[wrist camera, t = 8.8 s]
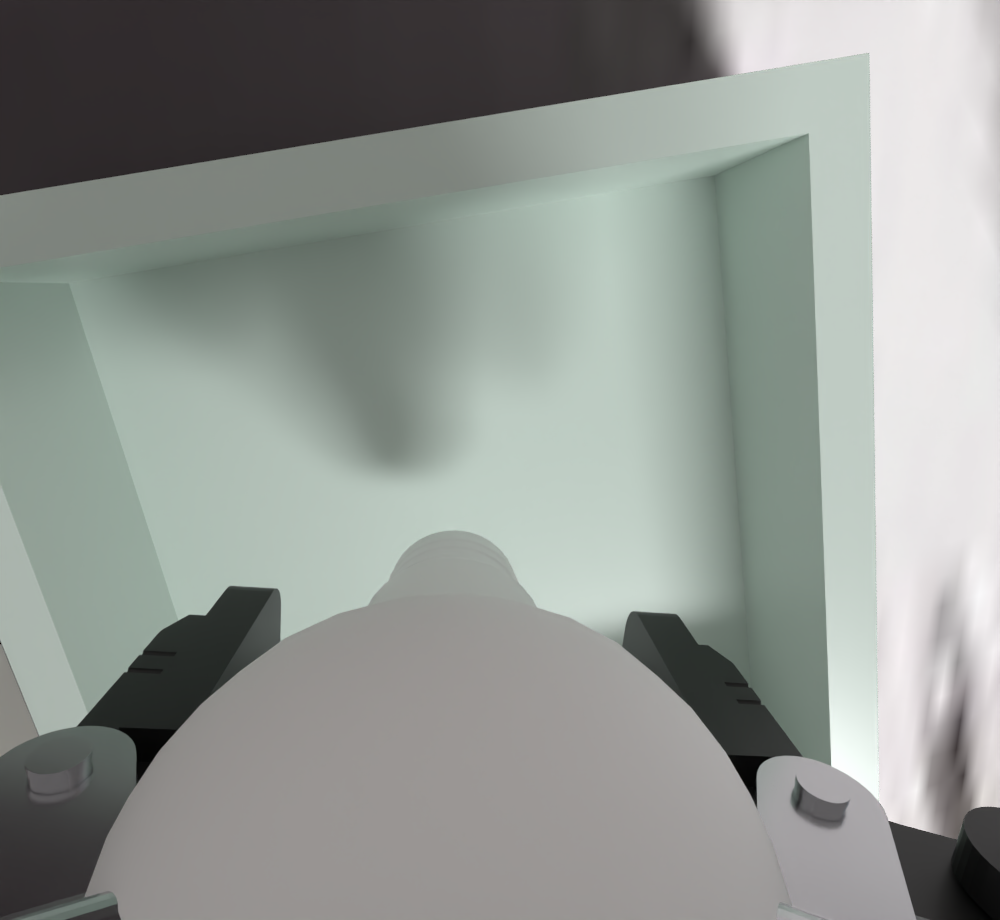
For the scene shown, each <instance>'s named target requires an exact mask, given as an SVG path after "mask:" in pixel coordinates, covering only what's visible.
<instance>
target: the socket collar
mask: <svg viewBox="0 0 1000 920" xmlns="http://www.w3.org/2000/svg"><path fill="white" fill-rule="evenodd" d="M36 737H38V733H37V731H36V728H35V726H34V724H33V721H32V719H31V716H30V714H29V711H28V709H27V706H26V704H25V702H24V699H23V697H22V694H21V692H20V689H19V687H18V684H17V682H16V679H15V677H14V675H13V672H12V670H11V667H10V665H9V662H8V660H7V657H6V655H5V653H4V650H3V648H2V645H1V644H0V757H1V756H2V755H4V754H5V753H7V752H8V751H10V750H11V749H13V748H15V747H16V746H18V745H20V744H22V743H24V742H26V741H28V740H31V739H33V738H36Z"/></svg>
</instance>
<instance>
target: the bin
mask: <svg viewBox="0 0 1000 920" xmlns="http://www.w3.org/2000/svg"><path fill="white" fill-rule="evenodd" d="M453 530H457V531H465V532H470V533H473V534H477V535H480V536H482V537H483V538H485V539H487V540H489V541H491V542H492V543H493V544H494V545H496V546H497V547H498V548H499V549H500V550H501V551H502V552H503V553H504V555H505V556H506V557H507V559H508V561H509V563H510V564H511V566H512V568H513V571H514V574H515V576H516V578H517V580H518V582H519V584H520V585H521V586H522V587H523V588H524V589H525V590H526V592H527V593H528V594H529V595H530V597H531V598H532V599H533V601H534V603H535V605H536V607H537V608H540V609H543V610H546V611H550V612H553V613H556V614H560V615H563V616H566V617H569V618H571V619H573V620H575V621H577V622H579V623H581V624H583V625H585V626H586V627H588V628H590V629H592V630H594V631H596V632H598V633H600V634H602V635H604V636H605V637H607V638H609V639H611V640H613V641H615V642H617V643H618V644H619V645H621V646H622V644H623V638H624V632H625V626H626V622H627V618H628V616H629V614H630V613H631V612H632V611H638V612H654V613H670V614H677V615H678V616H679V617H680V619H681V620H682V621H683V623H684V624H685V626H686V627H687V629H688V630H689V632H690V633H691V635H692V636H693V638H694V639H695V640H696V642H697V643H698V645H709V646H710V647H711V648H713V649H714V650H716V651H717V652H718V653H720V654H721V655H723V656H724V657H725V658H727V659H728V660H729V661H731V662H732V663H733V664H734V665H735V666H736V668H737V669H738V670H739V672H740V673H741V674H742V676H743V677H744V678H745V680H746V681H747V682H748V687H749V688H752V689H753V690H754V692H755V693H756V694H757V696H758V697H759V698H760V700H761V705H765V706H766V708H767V709H768V711H769V712H770V713H771V715H772V716H773V717H774V719H775V720H776V721H777V723H778V724H779V725H780V727H781V728H782V729H783V731H784V732H785V733H786V735H787V736H788V737H789V739H790V740H791V741H792V743H793V744H794V745H795V747H796V748H797V749H798V751H799V752H800V753H801V755H802V756H803V757H805V758H809V759H813V760H816V761H819V762H822V763H825V764H827V765H829V766H832V767H834V768H836V769H838V770H840V771H842V772H844V773H845V774H847V775H849V776H850V777H852V778H853V779H855V780H856V781H858V782H859V783H860V784H861V785H863V786H864V787H865V788H866V789H867V790H868V791H869V792H871V793H872V794H873V796H874V797H875V798H876V799H877V800H878V801H879V747H878V671H877V596H876V520H875V445H874V369H873V293H872V218H871V142H870V67H869V53H865V54H859V55H853V56H847V57H841V58H835V59H829V60H823V61H817V62H811V63H804V64H798V65H792V66H786V67H780V68H774V69H768V70H762V71H756V72H750V73H744V74H737V75H731V76H725V77H719V78H713V79H707V80H701V81H695V82H689V83H683V84H677V85H670V86H664V87H658V88H652V89H646V90H640V91H634V92H628V93H622V94H616V95H609V96H603V97H597V98H591V99H585V100H579V101H573V102H567V103H561V104H555V105H549V106H542V107H536V108H530V109H524V110H518V111H512V112H506V113H500V114H494V115H488V116H481V117H475V118H469V119H463V120H457V121H451V122H445V123H439V124H433V125H427V126H421V127H414V128H408V129H402V130H396V131H390V132H384V133H378V134H372V135H366V136H360V137H353V138H347V139H341V140H335V141H329V142H323V143H317V144H311V145H305V146H299V147H293V148H286V149H280V150H274V151H268V152H262V153H256V154H250V155H244V156H238V157H232V158H225V159H219V160H213V161H207V162H201V163H195V164H189V165H183V166H177V167H171V168H165V169H158V170H152V171H146V172H140V173H134V174H128V175H122V176H116V177H110V178H104V179H97V180H91V181H85V182H79V183H73V184H67V185H61V186H55V187H49V188H43V189H37V190H30V191H24V192H18V193H12V194H6V195H0V641H1V643H2V646H3V648H4V651H5V653H6V656H7V658H8V661H9V663H10V665H11V668H12V670H13V673H14V675H15V678H16V680H17V683H18V685H19V688H20V690H21V692H22V695H23V697H24V700H25V702H26V705H27V707H28V710H29V712H30V714H31V717H32V719H33V722H34V724H35V727H36V729H37V732H38V734H39V736H40V735H43V734H47V733H50V732H53V731H57V730H61V729H66V728H72V727H77V726H78V724H79V723H80V722H81V721H82V720H83V719H84V718H85V716H86V715H87V714H88V713H89V712H90V711H91V710H92V708H93V707H94V706H95V705H96V704H97V703H98V702H99V700H100V699H101V698H102V697H103V696H104V695H105V694H106V692H107V691H108V690H109V689H110V688H111V687H112V686H113V684H114V683H115V682H116V681H117V680H118V679H119V678H120V676H121V675H122V674H123V673H124V672H127V671H128V667H129V666H130V665H131V664H132V663H133V662H134V660H135V659H136V658H137V657H138V656H139V655H142V654H143V650H144V649H145V648H146V647H147V646H148V644H149V643H150V642H151V641H152V640H153V639H154V638H155V636H156V635H157V634H158V633H159V632H160V631H161V630H163V629H164V628H166V627H168V626H170V625H171V624H173V623H175V622H177V621H179V620H180V619H182V618H184V617H186V616H188V615H189V614H190V615H206V614H207V613H208V612H209V611H210V609H211V608H212V607H213V605H214V604H215V603H216V601H217V600H218V599H219V598H220V596H221V595H222V594H223V592H224V591H225V590H226V589H227V588H228V587H229V586H244V587H261V588H277V589H278V590H279V592H280V596H281V632H280V641H282V640H283V639H285V638H287V637H289V636H291V635H293V634H295V633H297V632H299V631H302V630H304V629H306V628H308V627H310V626H312V625H314V624H317V623H319V622H321V621H323V620H325V619H327V618H329V617H332V616H334V615H336V614H338V613H342V612H346V611H350V610H354V609H358V608H361V607H365V606H368V604H369V603H370V601H371V599H372V598H373V596H374V595H375V594H376V593H377V592H378V591H379V590H380V589H381V587H382V586H383V585H384V584H385V583H386V582H388V581H389V578H390V575H391V573H392V572H393V570H394V568H395V565H396V564H397V562H398V560H399V559H400V557H401V556H402V554H403V553H404V552H405V551H406V550H407V549H408V548H409V547H410V546H411V545H413V544H414V543H415V542H417V541H418V540H420V539H422V538H424V537H426V536H428V535H430V534H434V533H438V532H442V531H453Z"/></svg>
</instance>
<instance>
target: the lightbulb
mask: <svg viewBox="0 0 1000 920" xmlns="http://www.w3.org/2000/svg"><path fill="white" fill-rule="evenodd" d="M106 891H110V892H113V893H114V895H115V896H116V898H117V902H118V912H119V915H120V918H121V920H777V910H778V905H779V903H780V902H782V903H784V904H787V905H790V906H792V903H791V900H790V896H789V893H788V890H787V887H786V884H785V881H784V877H783V874H782V871H781V868H780V865H779V862H778V858H777V855H776V852H775V849H774V846H773V844H772V842H771V839H770V837H769V835H768V833H767V830H766V828H765V826H764V824H763V821H762V819H761V817H760V815H759V812H758V810H757V808H756V806H755V804H754V801H753V799H752V797H751V795H750V793H749V791H748V790H747V788H746V786H745V785H744V783H743V781H742V779H741V778H740V776H739V774H738V772H737V771H736V769H735V767H734V766H733V764H732V762H731V760H730V759H729V757H728V755H727V754H726V752H725V751H724V749H723V748H722V747H721V745H720V744H719V743H718V742H717V740H716V739H715V738H714V736H713V735H712V734H711V732H710V731H709V730H708V729H707V727H706V726H705V725H704V723H703V722H702V721H701V720H700V718H699V717H698V716H697V714H696V713H695V712H694V710H693V709H692V708H691V707H690V706H689V705H688V704H687V703H686V702H685V701H684V700H683V699H681V698H680V697H679V696H678V695H677V694H676V693H675V692H674V691H673V690H672V689H671V688H670V687H669V686H668V685H667V684H665V683H664V682H663V681H662V680H661V679H660V678H659V677H658V676H657V675H656V674H654V673H653V672H652V671H651V670H650V669H648V668H647V667H646V666H645V665H644V664H642V663H641V662H640V661H639V660H638V659H636V658H635V657H634V656H633V655H632V654H630V653H629V652H628V651H627V650H625V649H624V648H623V647H622V646H621V645H619V644H618V643H617V642H615V641H613V640H611V639H609V638H607V637H605V636H604V635H602V634H600V633H598V632H596V631H594V630H592V629H590V628H588V627H586V626H585V625H583V624H581V623H579V622H577V621H575V620H573V619H571V618H569V617H566V616H563V615H560V614H556V613H553V612H550V611H546V610H543V609H540V608H537V607H536V605H535V603H534V601H533V599H532V598H531V597H530V595H529V594H528V593H527V592H526V590H525V589H524V588H523V587H522V586H521V585H520V584H519V582H518V580H517V578H516V576H515V574H514V571H513V568H512V566H511V564H510V563H509V561H508V559H507V557H506V556H505V555H504V553H503V552H502V551H501V550H500V549H499V548H498V547H497V546H496V545H494V544H493V543H492V542H491V541H489V540H487V539H485V538H483V537H482V536H480V535H477V534H473V533H470V532H465V531H457V530H453V531H442V532H438V533H434V534H430V535H428V536H426V537H424V538H422V539H420V540H418V541H417V542H415V543H414V544H413V545H411V546H410V547H409V548H408V549H407V550H406V551H405V552H404V553H403V554H402V556H401V557H400V559H399V560H398V562H397V564H396V565H395V568H394V570H393V572H392V573H391V575H390V578H389V581H388V582H386V583H385V584H384V585H383V586H382V587H381V589H380V590H379V591H378V592H377V593H376V594H375V595H374V596H373V598H372V599H371V601H370V603H369V604H368V606H365V607H361V608H358V609H354V610H350V611H346V612H342V613H338V614H336V615H334V616H332V617H329V618H327V619H325V620H323V621H321V622H319V623H317V624H314V625H312V626H310V627H308V628H306V629H304V630H302V631H299V632H297V633H295V634H293V635H291V636H289V637H287V638H285V639H283V640H282V641H280V642H279V643H278V644H276V645H275V646H274V647H272V648H271V649H270V650H268V651H267V652H265V653H264V654H263V655H261V656H260V657H259V658H257V659H256V660H254V661H253V662H252V663H250V664H249V665H248V666H246V667H245V668H243V669H242V670H241V671H239V672H238V673H237V674H236V675H235V676H234V677H232V678H231V679H230V680H229V681H228V682H226V683H225V684H224V685H223V686H222V687H221V688H219V689H218V690H217V691H216V692H215V693H214V694H212V695H211V696H210V697H209V698H208V699H207V700H205V701H204V702H203V703H202V704H201V705H200V706H199V707H198V708H197V709H196V710H195V711H194V712H193V714H192V715H191V716H190V717H189V718H188V719H187V720H186V721H185V723H184V724H183V725H182V726H181V727H180V728H179V729H178V730H177V731H176V733H175V734H174V735H173V736H172V737H171V738H170V739H169V740H168V741H167V743H166V744H165V745H164V746H163V747H162V748H161V749H160V750H159V752H158V753H157V755H156V756H155V758H154V759H153V761H152V762H151V764H150V765H149V767H148V768H147V770H146V771H145V773H144V774H143V776H142V777H141V779H140V780H139V782H138V783H137V785H136V786H135V788H134V789H133V791H132V793H131V794H130V796H129V797H128V799H127V801H126V802H125V804H124V806H123V808H122V810H121V812H120V813H119V815H118V817H117V819H116V821H115V822H114V824H113V826H112V828H111V830H110V832H109V833H108V835H107V837H106V840H105V843H104V845H103V848H102V851H101V853H100V856H99V859H98V861H97V864H96V867H95V869H94V872H93V875H92V878H91V880H90V883H89V886H88V888H87V891H86V894H85V897H88V896H91V895H95V894H98V893H101V892H106Z"/></svg>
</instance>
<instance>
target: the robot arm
mask: <svg viewBox="0 0 1000 920" xmlns="http://www.w3.org/2000/svg"><path fill="white" fill-rule="evenodd" d="M280 632H281V596H280V592H279V590H278V589H277V588H261V587H244V586H229V587H228V588H227V589H226V590H225V591H224V592H223V594H222V595H221V596H220V598H219V599H218V600H217V601H216V603H215V604H214V605H213V607H212V608H211V609H210V611H209V612H208V613H207V614H206V615H190V614H189V615H188V616H186V617H184V618H182V619H180V620H179V621H177V622H175V623H173V624H171V625H170V626H168V627H166V628H164V629H163V630H161V631H160V632H159V633H158V634H157V635H156V636H155V638H154V639H153V640H152V641H151V642H150V643H149V644H148V646H147V647H146V648H145V649H144V650H143V654H142V655H139V656H138V657H137V658H136V659H135V660H134V662H133V663H132V664H131V665H130V666H129V667H128V671H127V672H124V673H123V674H122V675H121V676H120V678H119V679H118V680H117V681H116V682H115V683H114V684H113V686H112V687H111V688H110V689H109V690H108V691H107V692H106V694H105V695H104V696H103V697H102V698H101V699H100V700H99V702H98V703H97V704H96V705H95V706H94V707H93V708H92V710H91V711H90V712H89V713H88V714H87V715H86V716H85V718H84V719H83V720H82V721H81V722H80V723H79V724H78V726H77V727H72V728H66V729H61V730H57V731H53V732H50V733H47V734H43V735H40V736H38V737H36V738H33V739H31V740H28V741H26V742H24V743H22V744H20V745H18V746H16V747H15V748H13V749H11V750H10V751H8V752H7V753H5V754H4V755H2V756H1V757H0V920H121V918H120V915H119V912H118V902H117V898H116V896H115V895H114V893H113V892H110V891H106V892H101V893H98V894H95V895H91V896H88V897H85V894H86V891H87V888H88V886H89V883H90V880H91V878H92V875H93V872H94V869H95V867H96V864H97V861H98V859H99V856H100V853H101V851H102V848H103V845H104V843H105V840H106V837H107V835H108V833H109V832H110V830H111V828H112V826H113V824H114V822H115V821H116V819H117V817H118V815H119V813H120V812H121V810H122V808H123V806H124V804H125V802H126V801H127V799H128V797H129V796H130V794H131V793H132V791H133V789H134V788H135V786H136V785H137V783H138V782H139V780H140V779H141V777H142V776H143V774H144V773H145V771H146V770H147V768H148V767H149V765H150V764H151V762H152V761H153V759H154V758H155V756H156V755H157V753H158V752H159V750H160V749H161V748H162V747H163V746H164V745H165V744H166V743H167V741H168V740H169V739H170V738H171V737H172V736H173V735H174V734H175V733H176V731H177V730H178V729H179V728H180V727H181V726H182V725H183V724H184V723H185V721H186V720H187V719H188V718H189V717H190V716H191V715H192V714H193V712H194V711H195V710H196V709H197V708H198V707H199V706H200V705H201V704H202V703H203V702H204V701H205V700H207V699H208V698H209V697H210V696H211V695H212V694H214V693H215V692H216V691H217V690H218V689H219V688H221V687H222V686H223V685H224V684H225V683H226V682H228V681H229V680H230V679H231V678H232V677H234V676H235V675H236V674H237V673H238V672H239V671H241V670H242V669H243V668H245V667H246V666H248V665H249V664H250V663H252V662H253V661H254V660H256V659H257V658H259V657H260V656H261V655H263V654H264V653H265V652H267V651H268V650H270V649H271V648H272V647H274V646H275V645H276V644H278V643H279V642H280ZM622 647H623V648H624V649H625V650H627V651H628V652H629V653H630V654H632V655H633V656H634V657H635V658H636V659H638V660H639V661H640V662H641V663H642V664H644V665H645V666H646V667H647V668H648V669H650V670H651V671H652V672H653V673H654V674H656V675H657V676H658V677H659V678H660V679H661V680H662V681H663V682H664V683H665V684H667V685H668V686H669V687H670V688H671V689H672V690H673V691H674V692H675V693H676V694H677V695H678V696H679V697H680V698H681V699H683V700H684V701H685V702H686V703H687V704H688V705H689V706H690V707H691V708H692V709H693V710H694V712H695V713H696V714H697V716H698V717H699V718H700V720H701V721H702V722H703V723H704V725H705V726H706V727H707V729H708V730H709V731H710V732H711V734H712V735H713V736H714V738H715V739H716V740H717V742H718V743H719V744H720V745H721V747H722V748H723V749H724V751H725V752H726V754H727V755H728V757H729V759H730V760H731V762H732V764H733V766H734V767H735V769H736V771H737V772H738V774H739V776H740V778H741V779H742V781H743V783H744V785H745V786H746V788H747V790H748V791H749V793H750V795H751V797H752V799H753V801H754V804H755V806H756V808H757V810H758V812H759V815H760V817H761V819H762V821H763V824H764V826H765V828H766V830H767V833H768V835H769V837H770V839H771V842H772V844H773V846H774V849H775V852H776V855H777V858H778V862H779V865H780V868H781V871H782V874H783V877H784V881H785V884H786V887H787V890H788V893H789V896H790V900H791V903H792V906H790V905H787V904H784V903H782V902H780V903H779V905H778V910H777V920H1000V808H997V807H980V808H975V809H973V810H971V811H969V812H968V813H967V814H966V816H965V818H964V821H963V824H962V827H961V830H960V833H959V836H958V839H957V840H956V839H952V838H948V837H944V836H941V835H937V834H933V833H930V832H926V831H922V830H919V829H915V828H911V827H908V826H904V825H900V824H897V823H894V822H890V821H888V818H887V816H886V813H885V811H884V809H883V807H882V806H881V804H880V803H879V801H878V800H877V799H876V798H875V797H874V796H873V794H872V793H871V792H869V791H868V790H867V789H866V788H865V787H864V786H863V785H861V784H860V783H859V782H858V781H856V780H855V779H853V778H852V777H850V776H849V775H847V774H845V773H844V772H842V771H840V770H838V769H836V768H834V767H832V766H829V765H827V764H825V763H822V762H819V761H816V760H813V759H809V758H805V757H803V756H802V755H801V753H800V752H799V751H798V749H797V748H796V747H795V745H794V744H793V743H792V741H791V740H790V739H789V737H788V736H787V735H786V733H785V732H784V731H783V729H782V728H781V727H780V725H779V724H778V723H777V721H776V720H775V719H774V717H773V716H772V715H771V713H770V712H769V711H768V709H767V708H766V706H765V705H761V700H760V698H759V697H758V696H757V694H756V693H755V692H754V690H753V689H752V688H749V687H748V682H747V681H746V680H745V678H744V677H743V676H742V674H741V673H740V672H739V670H738V669H737V668H736V666H735V665H734V664H733V663H732V662H731V661H729V660H728V659H727V658H725V657H724V656H723V655H721V654H720V653H718V652H717V651H716V650H714V649H713V648H711V647H710V646H709V645H698V643H697V642H696V640H695V639H694V638H693V636H692V635H691V633H690V632H689V630H688V629H687V627H686V626H685V624H684V623H683V621H682V620H681V619H680V617H679V616H678V615H677V614H670V613H654V612H638V611H632V612H631V613H630V614H629V616H628V618H627V622H626V626H625V632H624V638H623V644H622Z"/></svg>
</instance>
